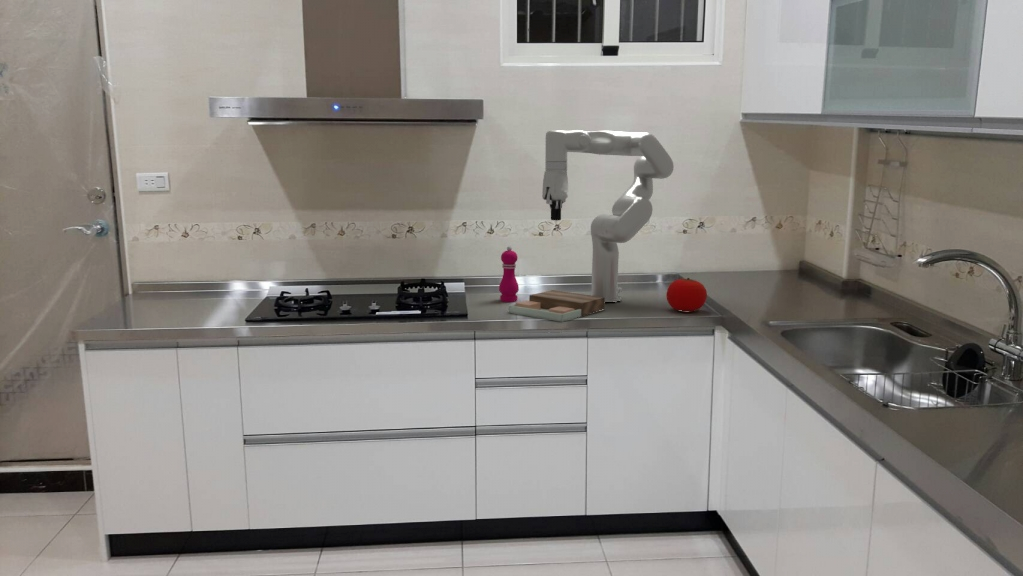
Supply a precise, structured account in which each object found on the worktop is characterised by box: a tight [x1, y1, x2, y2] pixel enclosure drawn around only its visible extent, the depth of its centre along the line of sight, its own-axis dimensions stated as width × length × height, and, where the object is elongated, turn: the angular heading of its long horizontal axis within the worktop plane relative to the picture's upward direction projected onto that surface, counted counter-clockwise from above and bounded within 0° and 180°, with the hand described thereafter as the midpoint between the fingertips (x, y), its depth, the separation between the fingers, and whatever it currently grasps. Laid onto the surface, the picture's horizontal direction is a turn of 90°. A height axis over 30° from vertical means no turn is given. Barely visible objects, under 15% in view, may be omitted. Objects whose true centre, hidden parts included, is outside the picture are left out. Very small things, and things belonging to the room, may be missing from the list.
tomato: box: [665, 277, 708, 312], centre depth 276 cm, size 13×14×12 cm
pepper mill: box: [498, 245, 520, 303], centre depth 291 cm, size 7×7×20 cm
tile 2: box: [549, 306, 574, 314], centre depth 263 cm, size 6×6×2 cm
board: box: [528, 289, 605, 317], centre depth 278 cm, size 14×22×4 cm, turn 52°
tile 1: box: [515, 300, 541, 310], centre depth 272 cm, size 6×6×2 cm
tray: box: [508, 303, 582, 323], centre depth 268 cm, size 11×22×2 cm, turn 52°
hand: (555, 219), depth 279 cm, fingers closed
